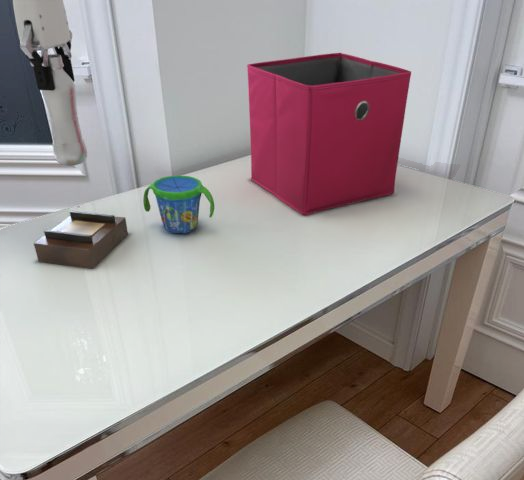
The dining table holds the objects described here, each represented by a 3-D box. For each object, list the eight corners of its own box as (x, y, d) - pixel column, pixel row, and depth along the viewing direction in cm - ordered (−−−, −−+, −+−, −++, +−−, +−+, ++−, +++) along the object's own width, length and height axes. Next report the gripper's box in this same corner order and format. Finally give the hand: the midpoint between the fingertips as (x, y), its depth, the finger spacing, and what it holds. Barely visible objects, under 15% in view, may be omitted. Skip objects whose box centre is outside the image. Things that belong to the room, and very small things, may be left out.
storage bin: (304, 218, 127) (310, 84, 110) (246, 180, 147) (244, 61, 130) (398, 196, 138) (417, 71, 121) (332, 163, 158) (340, 51, 141)
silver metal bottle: (49, 165, 113) (24, 57, 101) (75, 156, 118) (54, 51, 105) (70, 171, 110) (47, 60, 98) (96, 162, 115) (76, 55, 103)
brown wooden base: (38, 261, 110) (31, 236, 107) (78, 228, 123) (73, 205, 119) (92, 268, 108) (87, 243, 105) (128, 234, 120) (124, 210, 117)
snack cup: (222, 223, 125) (220, 179, 119) (204, 242, 117) (201, 196, 111) (159, 214, 129) (154, 171, 123) (138, 233, 121) (132, 187, 115)
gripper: (41, -31, 102) (62, 75, 112) (-18, -26, 88) (13, 94, 99) (78, -30, 100) (96, 77, 111) (24, -25, 87) (50, 97, 97)
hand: (56, 84), depth 105 cm, fingers closed on silver metal bottle, 6 cm apart
